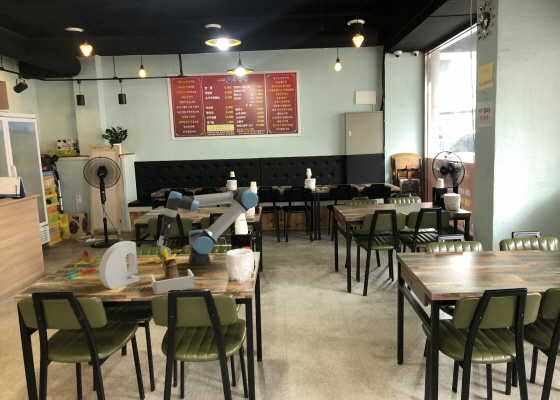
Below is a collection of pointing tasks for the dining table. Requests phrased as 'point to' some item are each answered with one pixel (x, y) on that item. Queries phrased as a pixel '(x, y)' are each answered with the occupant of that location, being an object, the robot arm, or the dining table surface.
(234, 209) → the robot arm
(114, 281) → the bracket
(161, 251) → the banana peel
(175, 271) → the wooden mug
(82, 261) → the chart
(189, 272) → the box
